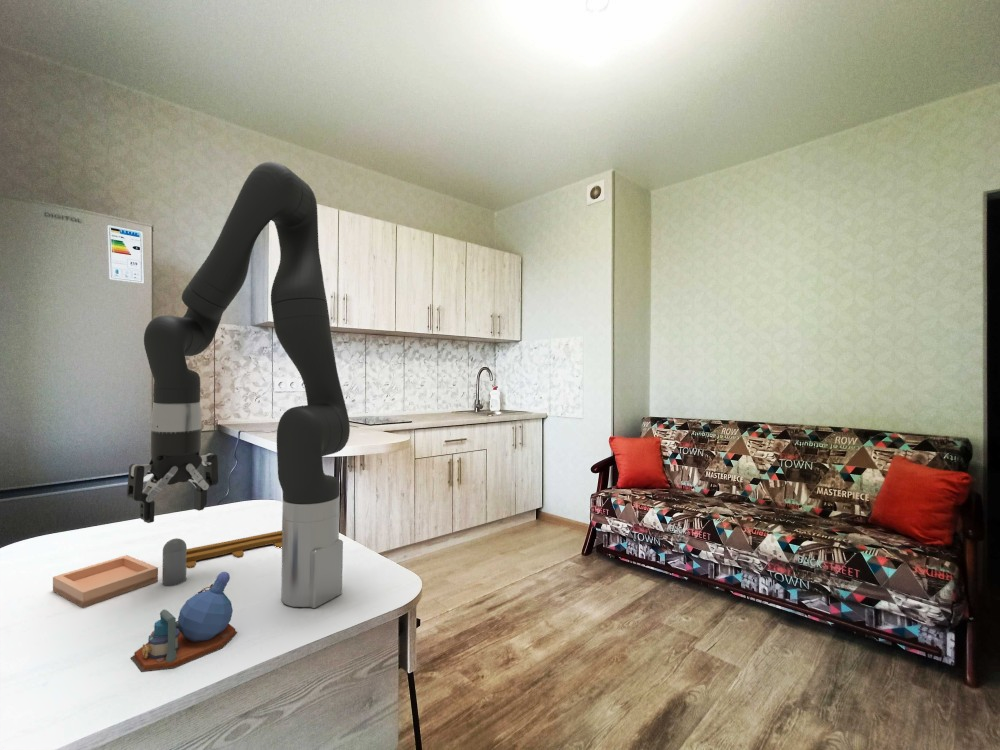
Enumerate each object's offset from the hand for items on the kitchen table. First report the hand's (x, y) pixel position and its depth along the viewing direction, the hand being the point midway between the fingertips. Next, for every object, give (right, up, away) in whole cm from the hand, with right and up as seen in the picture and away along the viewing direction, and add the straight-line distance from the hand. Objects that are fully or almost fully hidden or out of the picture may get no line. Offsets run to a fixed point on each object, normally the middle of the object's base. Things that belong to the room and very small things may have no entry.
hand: (174, 515), depth 87 cm
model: (+15, -13, -19) cm, 27 cm away
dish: (-10, -12, -2) cm, 16 cm away
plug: (0, -12, 0) cm, 12 cm away
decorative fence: (+4, -13, +16) cm, 21 cm away
